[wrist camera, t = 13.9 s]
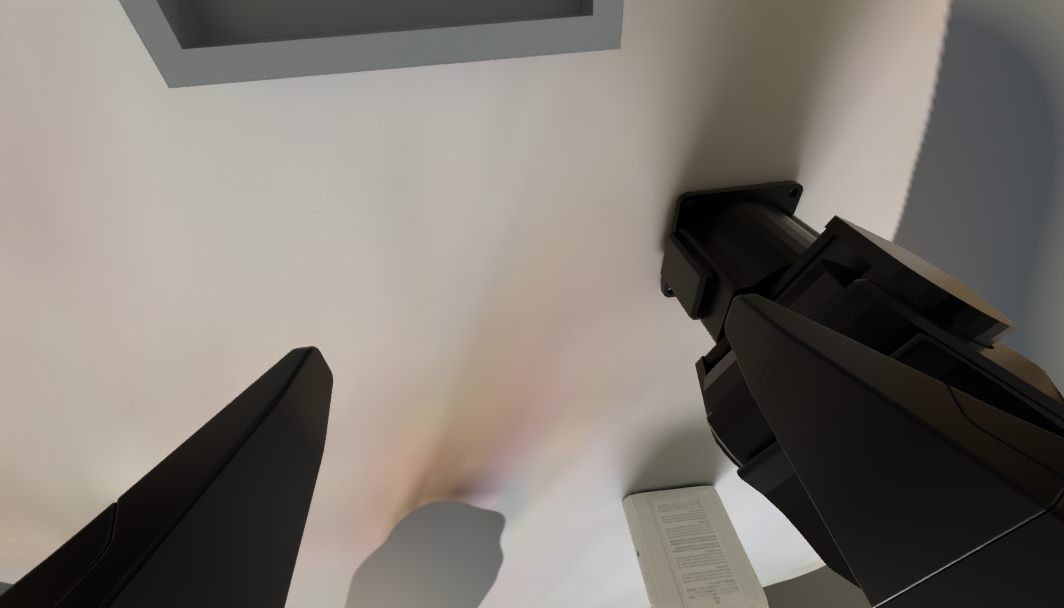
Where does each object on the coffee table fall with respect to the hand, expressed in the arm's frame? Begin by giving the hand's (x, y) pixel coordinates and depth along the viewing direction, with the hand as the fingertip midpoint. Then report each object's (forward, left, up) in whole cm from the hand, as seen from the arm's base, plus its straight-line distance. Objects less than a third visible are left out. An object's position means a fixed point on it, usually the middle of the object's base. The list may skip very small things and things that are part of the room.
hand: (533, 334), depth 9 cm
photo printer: (-14, +38, -12) cm, 42 cm away
